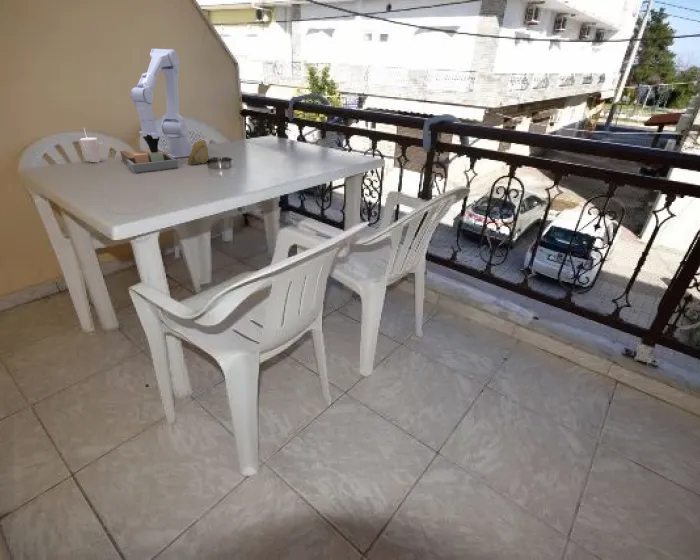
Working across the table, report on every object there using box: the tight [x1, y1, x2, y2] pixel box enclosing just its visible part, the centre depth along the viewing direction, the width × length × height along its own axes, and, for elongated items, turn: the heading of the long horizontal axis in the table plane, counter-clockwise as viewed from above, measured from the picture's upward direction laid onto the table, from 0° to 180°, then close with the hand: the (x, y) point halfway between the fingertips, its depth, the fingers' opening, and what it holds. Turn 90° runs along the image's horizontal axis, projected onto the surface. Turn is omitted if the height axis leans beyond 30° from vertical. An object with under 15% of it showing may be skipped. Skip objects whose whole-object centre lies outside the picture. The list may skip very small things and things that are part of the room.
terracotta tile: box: [133, 153, 149, 164], centre depth 159 cm, size 5×5×2 cm
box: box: [126, 155, 179, 174], centre depth 159 cm, size 17×10×4 cm, turn 129°
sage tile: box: [149, 151, 164, 162], centre depth 162 cm, size 5×5×2 cm
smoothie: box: [79, 127, 101, 163], centre depth 162 cm, size 6×6×14 cm
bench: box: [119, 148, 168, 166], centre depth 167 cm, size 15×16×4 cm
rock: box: [187, 140, 210, 166], centre depth 169 cm, size 11×9×10 cm
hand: (154, 153), depth 163 cm, fingers closed
